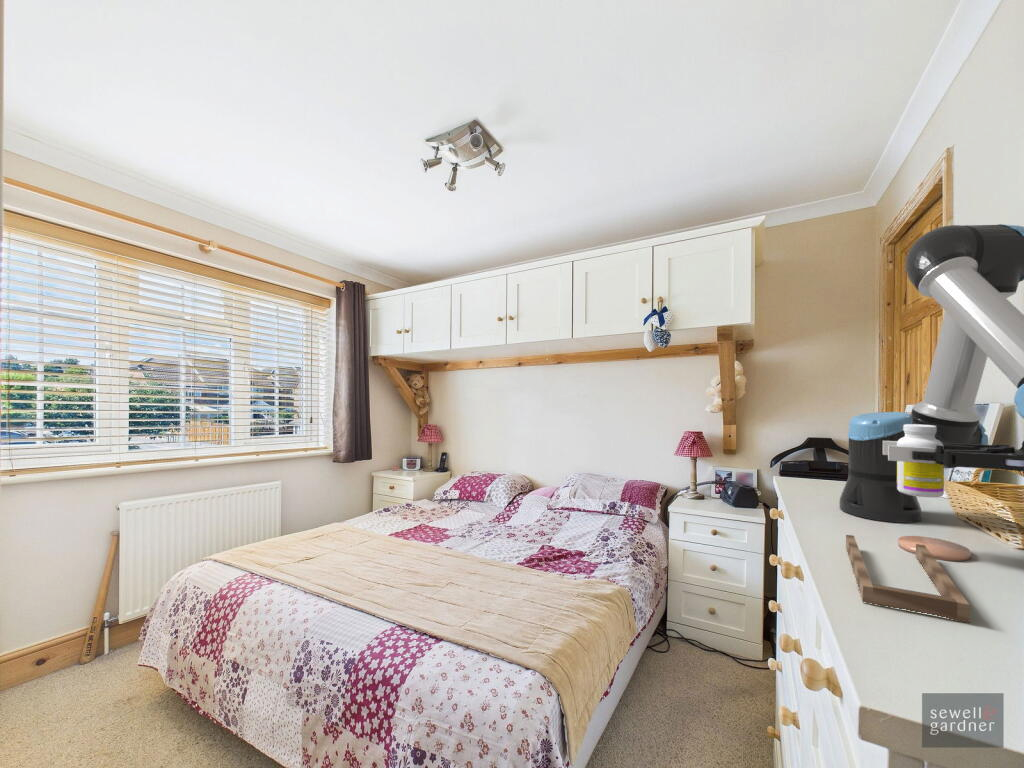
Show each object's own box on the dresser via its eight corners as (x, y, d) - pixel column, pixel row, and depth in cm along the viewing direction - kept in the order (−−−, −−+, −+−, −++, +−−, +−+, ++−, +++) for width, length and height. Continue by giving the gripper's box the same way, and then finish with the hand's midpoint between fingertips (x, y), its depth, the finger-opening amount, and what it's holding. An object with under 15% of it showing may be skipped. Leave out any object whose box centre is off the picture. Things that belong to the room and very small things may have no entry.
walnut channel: (846, 547, 90) (846, 534, 90) (924, 559, 84) (924, 545, 84) (862, 602, 68) (862, 585, 68) (969, 623, 63) (969, 604, 63)
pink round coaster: (893, 537, 95) (893, 532, 95) (960, 546, 90) (960, 541, 90) (903, 554, 86) (903, 549, 86) (978, 565, 81) (978, 559, 81)
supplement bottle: (953, 499, 84) (953, 427, 84) (909, 497, 86) (909, 427, 86) (929, 490, 91) (929, 423, 91) (889, 488, 92) (889, 423, 92)
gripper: (1090, 495, 70) (893, 479, 83) (1036, 472, 87) (879, 461, 99) (1091, 445, 70) (893, 436, 83) (1036, 431, 87) (879, 425, 99)
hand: (885, 450), depth 91 cm, fingers closed on supplement bottle, 7 cm apart
